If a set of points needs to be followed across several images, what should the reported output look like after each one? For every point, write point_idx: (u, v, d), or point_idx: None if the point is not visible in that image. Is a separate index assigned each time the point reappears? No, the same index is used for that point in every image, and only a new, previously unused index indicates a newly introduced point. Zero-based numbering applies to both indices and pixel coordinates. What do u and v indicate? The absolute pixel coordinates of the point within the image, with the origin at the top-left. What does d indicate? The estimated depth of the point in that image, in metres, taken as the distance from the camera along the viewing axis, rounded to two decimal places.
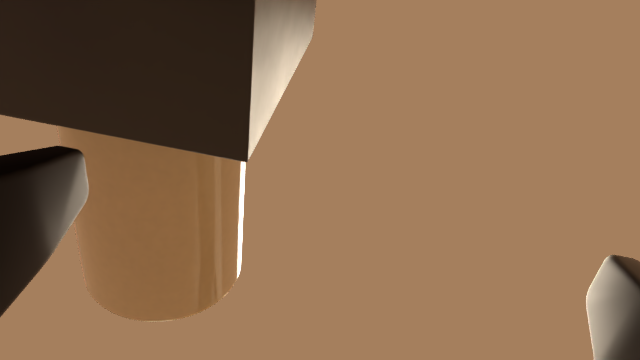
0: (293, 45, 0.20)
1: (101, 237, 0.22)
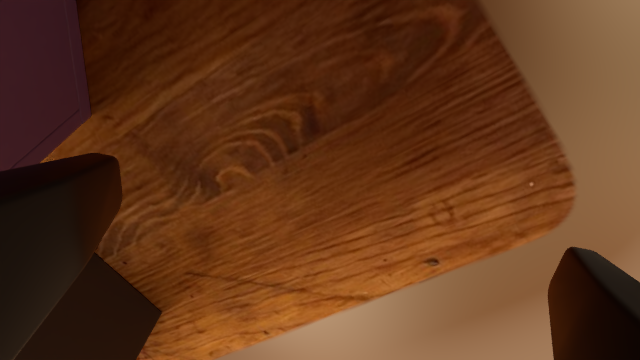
0: None
1: None
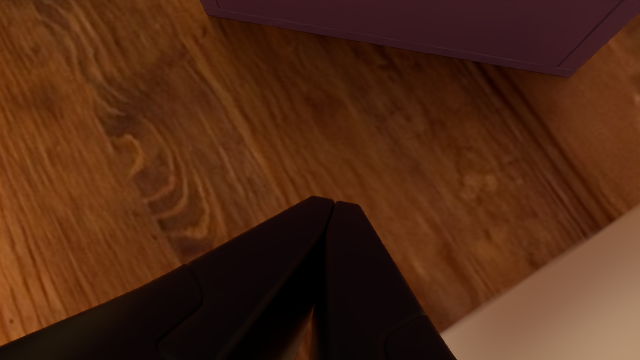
0: None
1: None
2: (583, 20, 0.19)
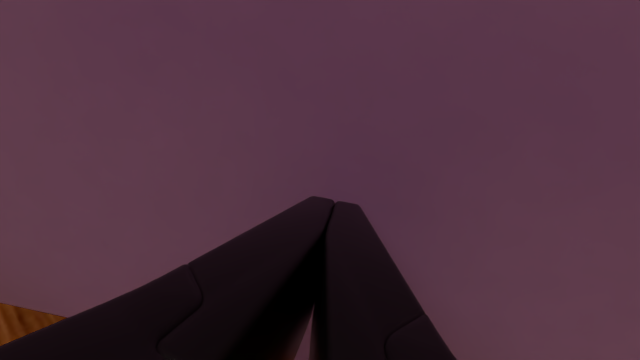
0: None
1: None
2: None
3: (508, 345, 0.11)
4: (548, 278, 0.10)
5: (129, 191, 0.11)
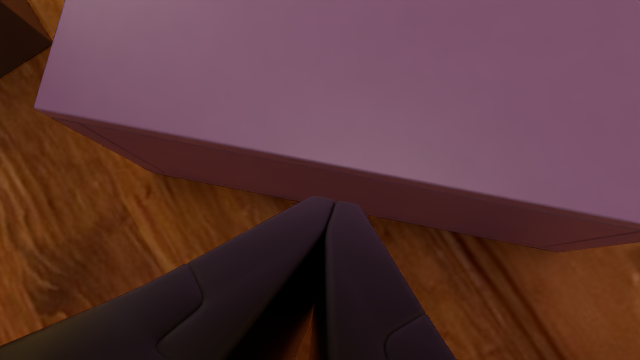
0: None
1: None
2: (572, 235, 0.16)
3: (527, 109, 0.13)
4: (544, 35, 0.14)
5: None
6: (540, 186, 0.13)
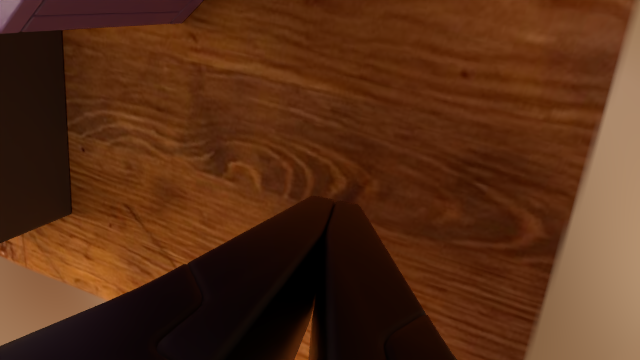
0: None
1: None
2: None
3: None
4: None
5: None
6: None
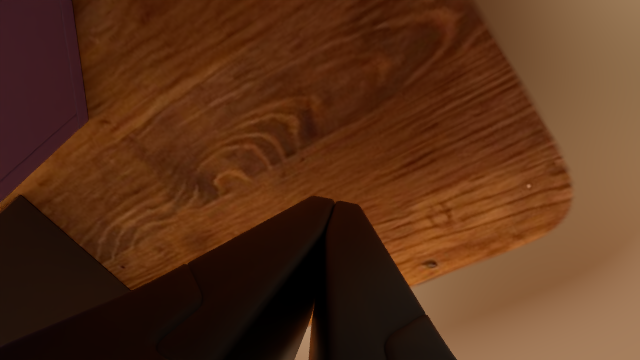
0: None
1: None
2: None
3: None
4: None
5: None
6: None
